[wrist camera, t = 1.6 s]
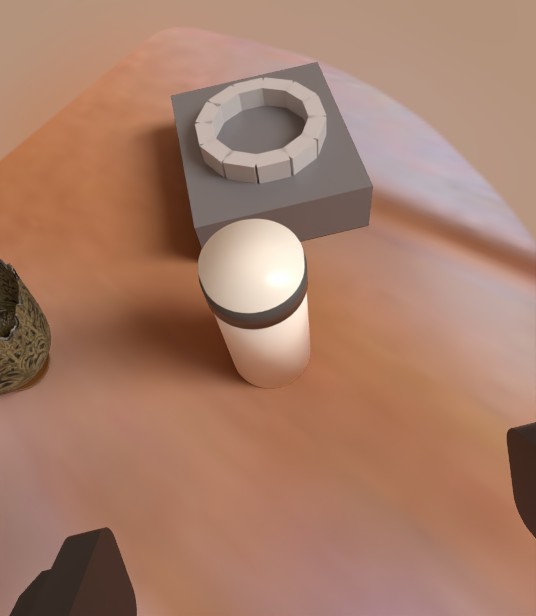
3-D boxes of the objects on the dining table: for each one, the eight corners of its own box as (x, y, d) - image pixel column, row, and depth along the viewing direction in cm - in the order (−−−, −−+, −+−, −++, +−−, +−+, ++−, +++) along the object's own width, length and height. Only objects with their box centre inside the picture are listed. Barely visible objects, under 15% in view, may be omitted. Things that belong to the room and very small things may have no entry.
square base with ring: (207, 263, 36) (188, 212, 31) (183, 135, 43) (165, 78, 38) (368, 225, 36) (374, 169, 31) (318, 104, 43) (316, 44, 39)
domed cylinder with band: (239, 398, 30) (204, 320, 22) (225, 326, 33) (189, 231, 25) (321, 378, 31) (319, 292, 22) (301, 308, 33) (291, 206, 25)
